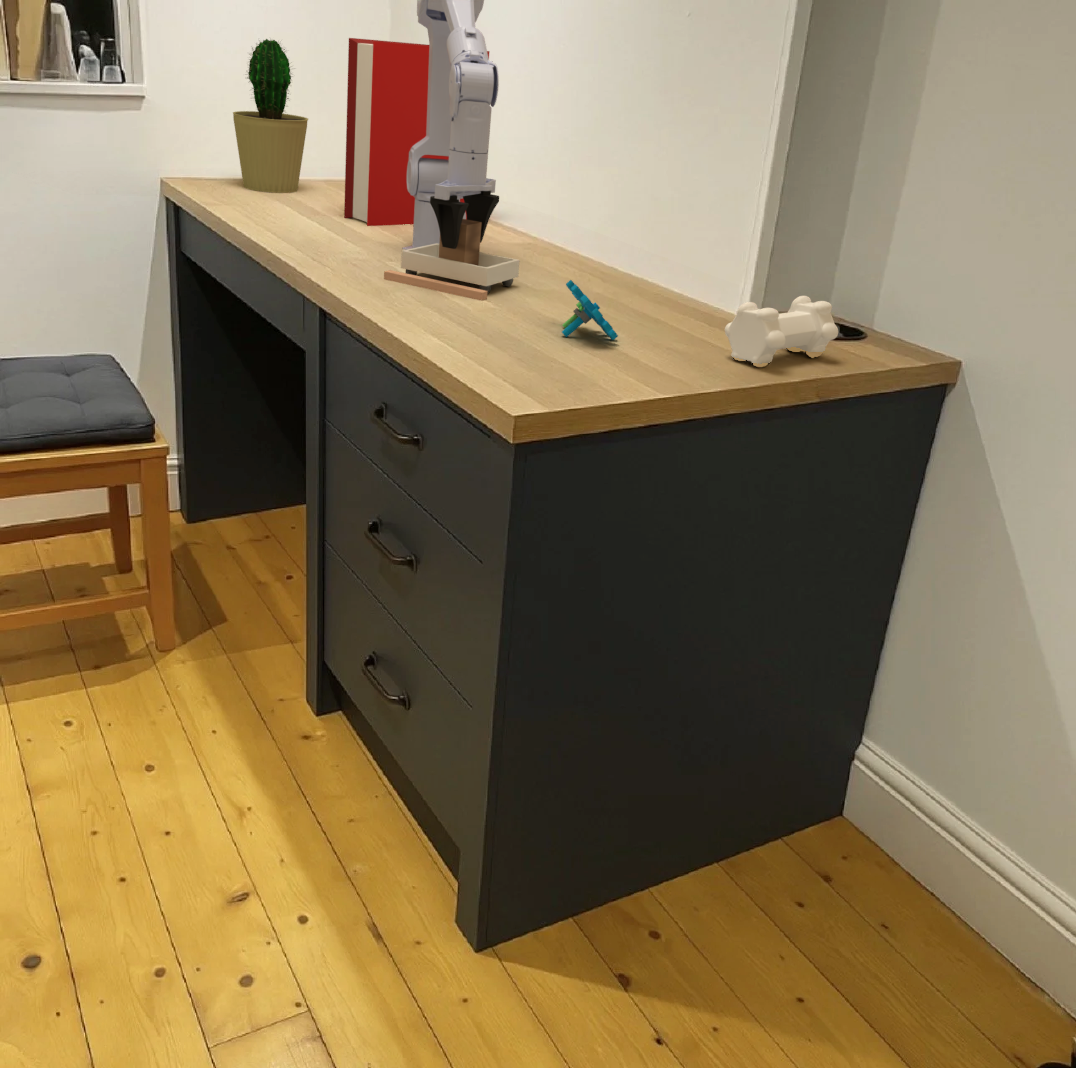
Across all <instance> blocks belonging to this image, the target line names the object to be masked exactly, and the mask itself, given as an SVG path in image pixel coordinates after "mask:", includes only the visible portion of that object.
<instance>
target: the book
mask: <svg viewBox="0 0 1076 1068" xmlns="http://www.w3.org/2000/svg"><path fill="white" fill-rule="evenodd" d="M347 50H348V55H347V56H348V57H347V90H346V92H347V95H346V135H345V136H346V137H345V138H346V141H345V173H344V174H345V176H344V213H343V218H344V219H357V220H360V221H362V222H363V221H364V222H366V226H367V227H376V226H377V227H379V226H383V227H384V226H401V225H402V226H405V224H410V225H414V206H415V197H414V196H413V195H410V193H409V192H408V190H407V165H408V161H409V151H410V149H411V147H412V146H413V145H414V144H416V143H417V142H419V141H420V140H422V139H423V138H424V137H426V127H427V99H428V72H429V44H422V43H414V42H413V43H412V42H401V41H388V40H381V39H380V40H379V39H378V40H377V39H368V38H367V39H366V38H355V37H348V49H347ZM487 54H488V59H489V60H490V50H487ZM420 158H432V159H446V160H449V156H437V155H423V156H422V157H420ZM460 202H463V203H464V199H460ZM465 212H466V211H465ZM466 219H467V214H466ZM403 224H404V225H403Z"/></svg>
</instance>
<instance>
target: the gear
mask: <svg viewBox="0 0 1076 1068" xmlns="http://www.w3.org/2000/svg"><path fill="white" fill-rule="evenodd" d="M565 286H566V288H567V289H568V290H569V291H570V292H571V294H572V295H573V296H574V298H575V299H576V300H577V301H578V302H577V303H576V304H575V305H576V308H575V309H573V311H572V312H573V313H574V314H573V315H572V316H571V317H569V318H568V320H566V321H565V322H564V323H562V327H563V328H564V329H563V330H561V333H562V334H563V335H564V336H565V337H566V338H568V337H569V336H570V335H571V334H572V333H573V332H575V331H576V330H577V329H578V328H579V327H580V326H582V325H583V324H585V325H586V324H588V322H590V320H593V321H594V322H595V323H596V324H597V325H598V326H599V327H600V328H601V330H602V331H603V332H604V333H605V334H606V336H608V337H609V338H610V339H611V341H614V340H615V339H616V338H618V337H619V335H618V334H617V331H615V330H614V328H613V326H612V325H611V324H610V322H609V321H608V320H606V319H605V318H604V316H603V313H602V312H601V311H600V309H601V307H600V306H599V304H598V303H597V302H594V303H593V302H592V300H591V299H590V298H589V297H588V296H587V295H586V294H585V293H584V292H583V291H582V290H581V288H580V287H579V286H578V285H577V284H576V283H575V282H574V281H573V279H572V280H571V279H570V280H568V281H567V282H565Z"/></svg>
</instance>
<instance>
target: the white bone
mask: <svg viewBox="0 0 1076 1068" xmlns="http://www.w3.org/2000/svg"><path fill="white" fill-rule="evenodd" d="M832 310H833V305H832V304H831V303H830V302H828V301H826V300H819V301H815V302H813V301H812V299H811V298H810V297H809V296H807V295H800V296H797V297H796V298H795V299H793V301H792V302H791V305H790V307H789V309H788V311H787V312H783V313H779V311H778V310H777V309H776V308H772V307H764V308H758V305H757V303H755V302H752V301H748V302H743V303H742V304H741V305H740V306H738V308H737V310H736V315H735V317H734V318H733V320H732V321H731V322H728V323H727V324H726V325H725V327H724V334H725V336H726V337H727V338H728V342H729V345H730V347H731V351H732V352H731V354H730V356H732V357H735V358H739V359H743V360H747V361H748V362H751V364H752V363H757V364H758V363H759V364H762V363H770V362H771V363H772V361H773V359H774V356H775V354H776V353H777V351H778V350H784V349H786V348H791V347H796V348H800V349H802V350H805V351H808V352H823V351H826V348H827V345H828V344H829V342H830V341H832V340H835V339H836V338H838V335H839V329H838V327H837V324H835V321H834V318H833V316H832V312H831V311H832ZM732 357H731V358H732ZM747 361H746V362H747ZM771 363H770V364H771Z"/></svg>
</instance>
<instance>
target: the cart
mask: <svg viewBox="0 0 1076 1068" xmlns="http://www.w3.org/2000/svg"><path fill="white" fill-rule="evenodd" d="M400 257H401V258H400V261H401V262H400V269H404V270H405V273H406V274H411V275H416V276H418V273H423V274H426V275H431V276H436V277H440V278H446V279H450V280H455V281H460V282H465V283H468V284H469V283H470V284H473V285H474V284H475V285H478V286H479V288H478V289H480V290H485V291H488V292H487V295H488V294H489V293H490V292H491V289H492V286H493V285H496V284H499V283H501V284H502V286H505V287H507V288H508V287H509V288H511V286H512V285H513V282H514V279H515V278H518V277H519V271H520V262H521V261H520V259H517V258H512V257H507V256H502V255H497V254H492V253H486V252H481V251H479V263H478V266H477V265H473V264H468V263H463V262H458V261H453V260H448V259H444V258H439V244H438V243H435V244H431V245H426V246H421V247H417V248H412V249H407V250H405V249H402V250H401V255H400Z"/></svg>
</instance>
